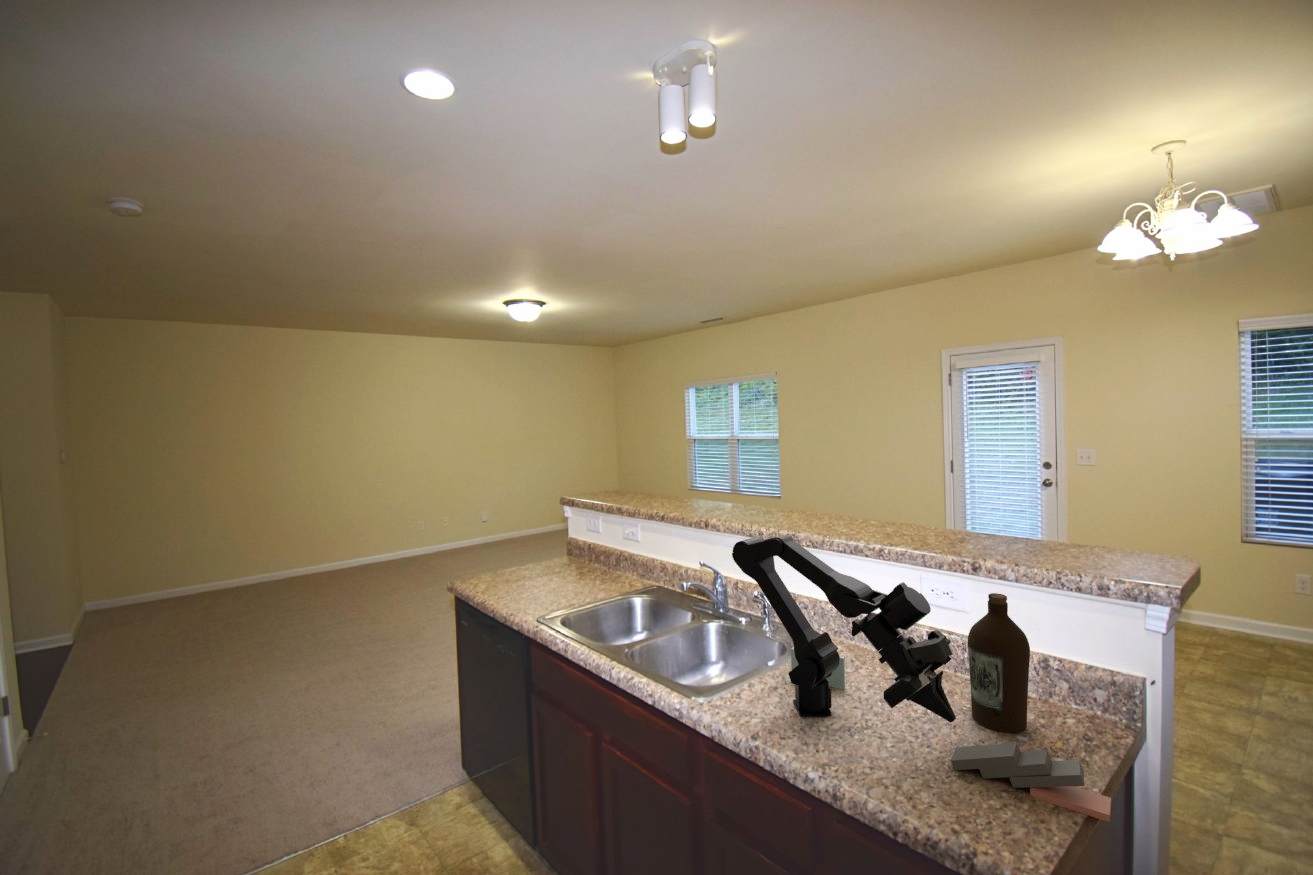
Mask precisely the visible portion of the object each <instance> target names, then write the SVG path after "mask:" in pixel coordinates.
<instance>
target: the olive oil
mask: <svg viewBox="0 0 1313 875" xmlns="http://www.w3.org/2000/svg"><path fill="white" fill-rule="evenodd" d="M1007 600H1008V596H1007V595H1005V594H1003V593H998V592H996V593H995V592H994V593H993V592H991V593H989V594H988V601H987V613H986V614H985V615H984V616H983V617H981V619H979V620H978V621H976V622H975V623H974V624H973V625H972V626H971V628H970V629H969V632H968V635H967V636H968V637H967V651H968V652H967V653H968V669H969V682H970V684H969V685H970V700H971V701H970V702H971V705H970V706H971V716H972V718H973V720H974V721H975V722H976V723H978V724H979V725H980V726H982V727H985V728H987V729H989V730H993V731H995V732H1000V733H1011V734H1012V733H1020V732H1023V731H1025V730H1026V728H1027V726H1028V695H1029V694H1028V692H1029V677H1030V676H1029V674H1030V673H1029V672H1030V659H1031V657H1030V656H1031V648H1030V647H1031V646H1030V644H1029V639H1028V638H1027V635H1026V633H1025V632H1024V631H1023V630H1022V629H1021V628H1020V627H1019V625H1018V624H1016V623H1015V621H1013V620H1012V618H1011V617H1010V616H1009V615H1008V611H1009V610H1008V606H1009V603H1008V602H1007Z"/></svg>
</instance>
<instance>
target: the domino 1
mask: <svg viewBox="0 0 1313 875" xmlns="http://www.w3.org/2000/svg"><path fill="white" fill-rule="evenodd" d="M1021 752H1022V751H1021V749H1020V747H1019V744H1018V742H1017V741H1014V742H1004V743H1003V742H1001V743H991V744H983V745H970V746H969V745H967V746H959V747H955V749H954V752H953V754H952V756H951V758H950V763H951V765H952V767H953V770H954V771H965V770H966V771H967V770H979V769H983V768H998V767H1013V766H1018V763H1019V758H1020V754H1021Z"/></svg>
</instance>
